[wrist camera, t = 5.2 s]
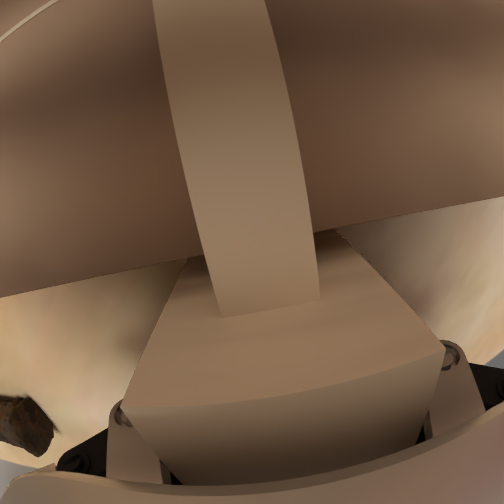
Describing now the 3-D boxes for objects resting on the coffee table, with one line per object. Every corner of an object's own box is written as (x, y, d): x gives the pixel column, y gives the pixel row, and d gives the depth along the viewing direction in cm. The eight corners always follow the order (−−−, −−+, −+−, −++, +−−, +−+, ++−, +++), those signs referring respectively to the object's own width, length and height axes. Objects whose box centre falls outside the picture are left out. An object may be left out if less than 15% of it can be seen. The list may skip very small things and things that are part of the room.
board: (-35, 71, 7) (-66, 69, 4) (456, -39, 5) (481, -55, 3) (1, 281, 11) (-29, 304, 8) (514, 177, 9) (551, 187, 7)
